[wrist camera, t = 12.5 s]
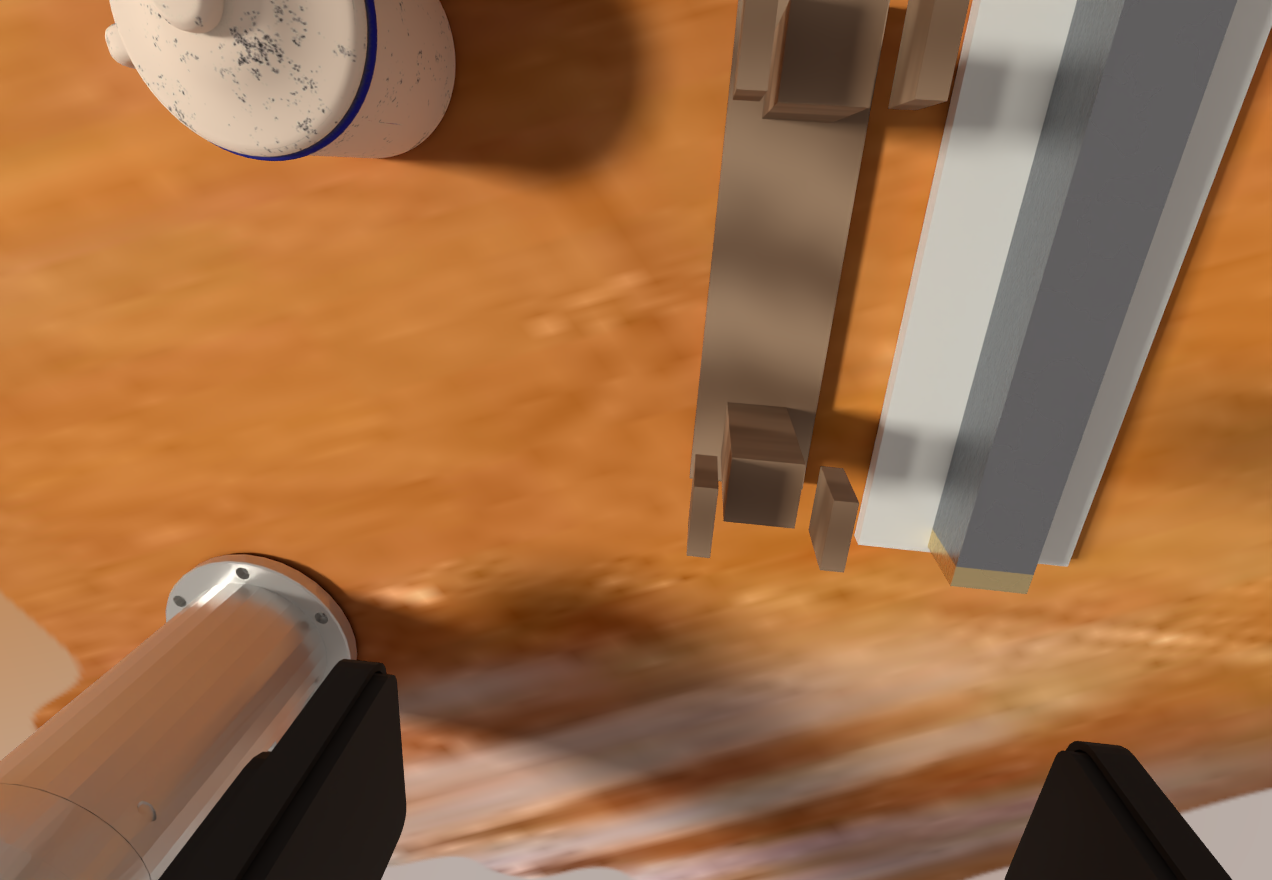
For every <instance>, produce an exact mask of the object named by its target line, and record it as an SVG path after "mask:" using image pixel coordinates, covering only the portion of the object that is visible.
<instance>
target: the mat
mask: <svg viewBox="0 0 1272 880" xmlns="http://www.w3.org/2000/svg"><path fill="white" fill-rule="evenodd" d="M1076 2H1077V0H973V2H972V6H971V11H970V15H969V20H968V24H967V29H966V33H965V38H964V43H963V47H962V52H961V56H960V61H959V65H958V70H957V74H956V79H955V83H954V88H953V92H952V97H951V101H950V106H949V110H948V115H947V119H946V124H945V128H944V133H943V137H942V142H941V146H940V151H939V156H938V160H937V165H936V169H935V174H934V178H933V183H932V187H931V192H930V196H929V201H928V205H927V210H926V214H925V219H924V223H923V228H922V232H921V237H920V241H919V246H918V250H917V255H916V260H915V264H914V269H913V273H912V278H911V282H910V287H909V291H908V296H907V300H906V305H905V309H904V314H903V318H902V323H901V327H900V332H899V336H898V341H897V345H896V350H895V354H894V359H893V363H892V368H891V373H890V377H889V382H888V386H887V391H886V395H885V400H884V404H883V409H882V413H881V418H880V422H879V427H878V431H877V436H876V440H875V445H874V449H873V454H872V458H871V463H870V467H869V472H868V476H867V481H866V486H865V490H864V495H863V499H862V504H861V508H860V513H859V517H858V522H857V526H856V531H855V538H856V540H857V543H858V545H866V546H876V547H885V548H895V549H904V550H914V551H924V552H930V550H929V548H928V543H929V539H930V536H931V532H932V528H933V525H934V521H935V517H936V514H937V510H938V506H939V503H940V499H941V495H942V492H943V488H944V485H945V481H946V477H947V474H948V470H949V466H950V463H951V459H952V455H953V452H954V448H955V444H956V441H957V437H958V433H959V430H960V426H961V422H962V419H963V415H964V411H965V408H966V404H967V401H968V397H969V393H970V390H971V386H972V382H973V379H974V375H975V371H976V368H977V364H978V360H979V357H980V353H981V349H982V346H983V342H984V338H985V335H986V331H987V327H988V324H989V320H990V317H991V313H992V309H993V306H994V302H995V298H996V295H997V291H998V287H999V284H1000V280H1001V276H1002V273H1003V269H1004V265H1005V262H1006V258H1007V254H1008V251H1009V247H1010V243H1011V240H1012V236H1013V232H1014V229H1015V225H1016V222H1017V218H1018V214H1019V211H1020V207H1021V203H1022V200H1023V196H1024V192H1025V189H1026V185H1027V181H1028V178H1029V174H1030V170H1031V167H1032V163H1033V159H1034V156H1035V152H1036V148H1037V145H1038V141H1039V138H1040V134H1041V130H1042V127H1043V123H1044V119H1045V116H1046V112H1047V108H1048V105H1049V101H1050V97H1051V94H1052V90H1053V86H1054V83H1055V79H1056V75H1057V72H1058V68H1059V64H1060V61H1061V57H1062V54H1063V50H1064V46H1065V43H1066V39H1067V35H1068V32H1069V28H1070V24H1071V21H1072V17H1073V13H1074V10H1075V6H1076ZM1271 27H1272V0H1237V3H1236V6H1235V8H1234V11H1233V14H1232V17H1231V20H1230V23H1229V25H1228V28H1227V31H1226V34H1225V37H1224V39H1223V42H1222V45H1221V48H1220V51H1219V54H1218V56H1217V59H1216V62H1215V65H1214V68H1213V70H1212V73H1211V76H1210V79H1209V82H1208V85H1207V87H1206V90H1205V93H1204V96H1203V99H1202V101H1201V104H1200V107H1199V110H1198V113H1197V116H1196V118H1195V121H1194V124H1193V127H1192V130H1191V132H1190V135H1189V138H1188V141H1187V144H1186V147H1185V149H1184V152H1183V155H1182V158H1181V161H1180V163H1179V166H1178V169H1177V172H1176V175H1175V178H1174V180H1173V183H1172V186H1171V189H1170V192H1169V194H1168V197H1167V200H1166V203H1165V206H1164V209H1163V211H1162V214H1161V217H1160V220H1159V223H1158V225H1157V228H1156V231H1155V234H1154V237H1153V240H1152V242H1151V245H1150V248H1149V251H1148V254H1147V256H1146V259H1145V262H1144V265H1143V268H1142V270H1141V273H1140V276H1139V279H1138V282H1137V285H1136V287H1135V290H1134V293H1133V296H1132V299H1131V301H1130V304H1129V307H1128V310H1127V313H1126V316H1125V318H1124V321H1123V324H1122V327H1121V330H1120V332H1119V335H1118V338H1117V341H1116V344H1115V347H1114V349H1113V352H1112V355H1111V358H1110V361H1109V363H1108V366H1107V369H1106V372H1105V375H1104V378H1103V380H1102V383H1101V386H1100V389H1099V392H1098V394H1097V397H1096V400H1095V403H1094V406H1093V409H1092V411H1091V414H1090V417H1089V420H1088V423H1087V425H1086V428H1085V431H1084V434H1083V437H1082V440H1081V442H1080V445H1079V448H1078V451H1077V454H1076V456H1075V459H1074V462H1073V465H1072V468H1071V471H1070V473H1069V476H1068V479H1067V482H1066V485H1065V487H1064V490H1063V493H1062V496H1061V499H1060V502H1059V504H1058V507H1057V510H1056V513H1055V516H1054V518H1053V521H1052V524H1051V527H1050V530H1049V533H1048V535H1047V538H1046V541H1045V544H1044V547H1043V549H1042V552H1041V555H1040V558H1039V561H1038V564H1048V565H1058V566H1067V567H1068V565H1069V562H1070V559H1071V557H1072V554H1073V551H1074V549H1075V546H1076V543H1077V541H1078V538H1079V535H1080V533H1081V530H1082V528H1083V525H1084V522H1085V520H1086V517H1087V514H1088V512H1089V509H1090V506H1091V504H1092V501H1093V498H1094V496H1095V493H1096V490H1097V488H1098V485H1099V482H1100V480H1101V477H1102V475H1103V472H1104V469H1105V467H1106V464H1107V461H1108V459H1109V456H1110V453H1111V451H1112V448H1113V445H1114V443H1115V440H1116V437H1117V435H1118V432H1119V429H1120V427H1121V424H1122V422H1123V419H1124V416H1125V414H1126V411H1127V408H1128V406H1129V403H1130V400H1131V398H1132V395H1133V392H1134V390H1135V387H1136V384H1137V382H1138V379H1139V376H1140V374H1141V371H1142V369H1143V366H1144V363H1145V361H1146V358H1147V355H1148V353H1149V350H1150V347H1151V345H1152V342H1153V339H1154V337H1155V334H1156V331H1157V329H1158V326H1159V323H1160V321H1161V318H1162V316H1163V313H1164V310H1165V308H1166V305H1167V302H1168V300H1169V297H1170V294H1171V292H1172V289H1173V286H1174V284H1175V281H1176V278H1177V276H1178V273H1179V271H1180V268H1181V265H1182V263H1183V260H1184V257H1185V255H1186V252H1187V249H1188V247H1189V244H1190V241H1191V239H1192V236H1193V233H1194V231H1195V228H1196V225H1197V223H1198V220H1199V218H1200V215H1201V212H1202V210H1203V207H1204V204H1205V202H1206V199H1207V196H1208V194H1209V191H1210V188H1211V186H1212V183H1213V180H1214V178H1215V175H1216V172H1217V170H1218V167H1219V165H1220V162H1221V159H1222V157H1223V154H1224V151H1225V149H1226V146H1227V143H1228V141H1229V138H1230V135H1231V133H1232V130H1233V127H1234V125H1235V122H1236V119H1237V117H1238V114H1239V112H1240V109H1241V106H1242V104H1243V101H1244V98H1245V96H1246V93H1247V90H1248V88H1249V85H1250V82H1251V80H1252V77H1253V74H1254V72H1255V69H1256V66H1257V64H1258V61H1259V59H1260V56H1261V53H1262V51H1263V48H1264V45H1265V43H1266V40H1267V37H1268V35H1269V32H1270V29H1271Z"/></svg>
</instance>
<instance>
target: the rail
mask: <svg viewBox="0 0 1272 880" xmlns="http://www.w3.org/2000/svg"><path fill="white" fill-rule="evenodd" d="M1236 3H1237V0H1077V2H1076V6H1075V10H1074V13H1073V17H1072V21H1071V24H1070V28H1069V32H1068V35H1067V39H1066V43H1065V46H1064V50H1063V54H1062V57H1061V61H1060V64H1059V68H1058V72H1057V75H1056V79H1055V83H1054V86H1053V90H1052V94H1051V97H1050V101H1049V105H1048V108H1047V112H1046V116H1045V119H1044V123H1043V127H1042V130H1041V134H1040V138H1039V141H1038V145H1037V148H1036V152H1035V156H1034V159H1033V163H1032V167H1031V170H1030V174H1029V178H1028V181H1027V185H1026V189H1025V192H1024V196H1023V200H1022V203H1021V207H1020V211H1019V214H1018V218H1017V222H1016V225H1015V229H1014V232H1013V236H1012V240H1011V243H1010V247H1009V251H1008V254H1007V258H1006V262H1005V265H1004V269H1003V273H1002V276H1001V280H1000V284H999V287H998V291H997V295H996V298H995V302H994V306H993V309H992V313H991V317H990V320H989V324H988V327H987V331H986V335H985V338H984V342H983V346H982V349H981V353H980V357H979V360H978V364H977V368H976V371H975V375H974V379H973V382H972V386H971V390H970V393H969V397H968V401H967V404H966V408H965V411H964V415H963V419H962V422H961V426H960V430H959V433H958V437H957V441H956V444H955V448H954V452H953V455H952V459H951V463H950V466H949V470H948V474H947V477H946V481H945V485H944V488H943V492H942V495H941V499H940V503H939V506H938V510H937V514H936V517H935V521H934V525H933V528H932V532H931V536H930V539H929V543H928V548H929V550H930V552H931V553H932V555H933V557H934V559H935V560H936V562H937V564H938V565H939V567H940V569H941V570H942V572H943V574H944V576H945V577H946V579H947V581H948V582H949V584H950V586H957V587H967V588H976V589H985V590H995V591H1004V592H1013V593H1022V594H1027V592H1028V589H1029V586H1030V583H1031V580H1032V578H1033V575H1034V572H1035V569H1036V566H1037V564H1038V561H1039V558H1040V555H1041V552H1042V549H1043V547H1044V544H1045V541H1046V538H1047V535H1048V533H1049V530H1050V527H1051V524H1052V521H1053V518H1054V516H1055V513H1056V510H1057V507H1058V504H1059V502H1060V499H1061V496H1062V493H1063V490H1064V487H1065V485H1066V482H1067V479H1068V476H1069V473H1070V471H1071V468H1072V465H1073V462H1074V459H1075V456H1076V454H1077V451H1078V448H1079V445H1080V442H1081V440H1082V437H1083V434H1084V431H1085V428H1086V425H1087V423H1088V420H1089V417H1090V414H1091V411H1092V409H1093V406H1094V403H1095V400H1096V397H1097V394H1098V392H1099V389H1100V386H1101V383H1102V380H1103V378H1104V375H1105V372H1106V369H1107V366H1108V363H1109V361H1110V358H1111V355H1112V352H1113V349H1114V347H1115V344H1116V341H1117V338H1118V335H1119V332H1120V330H1121V327H1122V324H1123V321H1124V318H1125V316H1126V313H1127V310H1128V307H1129V304H1130V301H1131V299H1132V296H1133V293H1134V290H1135V287H1136V285H1137V282H1138V279H1139V276H1140V273H1141V270H1142V268H1143V265H1144V262H1145V259H1146V256H1147V254H1148V251H1149V248H1150V245H1151V242H1152V240H1153V237H1154V234H1155V231H1156V228H1157V225H1158V223H1159V220H1160V217H1161V214H1162V211H1163V209H1164V206H1165V203H1166V200H1167V197H1168V194H1169V192H1170V189H1171V186H1172V183H1173V180H1174V178H1175V175H1176V172H1177V169H1178V166H1179V163H1180V161H1181V158H1182V155H1183V152H1184V149H1185V147H1186V144H1187V141H1188V138H1189V135H1190V132H1191V130H1192V127H1193V124H1194V121H1195V118H1196V116H1197V113H1198V110H1199V107H1200V104H1201V101H1202V99H1203V96H1204V93H1205V90H1206V87H1207V85H1208V82H1209V79H1210V76H1211V73H1212V70H1213V68H1214V65H1215V62H1216V59H1217V56H1218V54H1219V51H1220V48H1221V45H1222V42H1223V39H1224V37H1225V34H1226V31H1227V28H1228V25H1229V23H1230V20H1231V17H1232V14H1233V11H1234V8H1235V6H1236Z"/></svg>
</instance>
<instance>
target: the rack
mask: <svg viewBox="0 0 1272 880" xmlns="http://www.w3.org/2000/svg"><path fill="white" fill-rule="evenodd" d="M889 3H890V0H738V9H737V19H736V29H735V39H734V48H733V58H732V68H731V78H730V87H729V97H728V107H727V117H726V126H725V136H724V146H723V156H722V165H721V175H720V185H719V195H718V204H717V214H716V224H715V234H714V243H713V253H712V263H711V273H710V282H709V292H708V302H707V312H706V321H705V331H704V341H703V351H702V360H701V370H700V380H699V390H698V399H697V409H696V419H695V429H694V438H693V448H692V458H691V468H690V478H693V482H692V491H691V501H690V511H689V522H688V540H687V556H696V557H705V558H710V553H711V545H712V537H713V529H714V521H715V512H716V504H717V496H718V481H722V495H723V517H724V521H726V522H736V523H746V524H755V525H765V526H775V527H784V528H795V522H796V517H797V511H798V506H799V500H800V494H801V489H802V488H803V483H804V477H805V472H806V466H807V460H808V455H809V449H810V444H811V438H812V433H813V427H814V421H815V416H816V410H817V405H818V399H819V394H820V388H821V382H822V377H823V371H824V366H825V360H826V354H827V349H828V343H829V338H830V332H831V327H832V321H833V315H834V310H835V304H836V299H837V293H838V288H839V282H840V276H841V271H842V265H843V260H844V254H845V249H846V243H847V237H848V232H849V226H850V221H851V215H852V209H853V204H854V198H855V193H856V187H857V182H858V176H859V170H860V165H861V159H862V154H863V148H864V143H865V137H866V131H867V126H868V120H869V115H870V109H871V103H872V98H873V92H874V87H875V81H876V76H877V70H878V64H879V59H880V53H881V48H882V42H883V37H884V31H885V25H886V20H887V14H888V9H889ZM968 5H969V0H909V1H908V6H907V12H906V17H905V22H904V27H903V33H902V38H901V43H900V49H899V54H898V59H897V65H896V70H895V75H894V80H893V86H892V91H891V96H890V102H889V107H888V109H901V110H919V109H922V108H926V107H929V106H932V105H936V104H939V103H942V102H946V101H947V100H948V96H949V91H950V87H951V82H952V77H953V73H954V68H955V64H956V59H957V55H958V50H959V46H960V41H961V36H962V32H963V27H964V23H965V18H966V14H967V9H968ZM858 506H859V502H858V500H857V497H856V495H855V493H854V491H853V489H852V486H851V484H850V482H849V480H848V478H847V476H846V473H845V471H844V469H843V468H835V467H824V466H821V467H820V473H819V478H818V483H817V488H816V494H815V499H814V504H813V510H812V515H811V520H810V526H809V533H810V537H811V540H812V544H813V547H814V551H815V554H816V558H817V561H818V565H819V568H820V570H826V571H835V572H844V569H845V565H846V560H847V556H848V551H849V547H850V542H851V538H852V533H853V528H854V524H855V519H856V515H857V510H858Z"/></svg>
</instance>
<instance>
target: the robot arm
mask: <svg viewBox="0 0 1272 880" xmlns="http://www.w3.org/2000/svg"><path fill="white" fill-rule="evenodd" d="M356 659H357V649H356V641H355V637H354V634H353V631H352V628H351V626H350V623H349V622H348V620H347V618H346V616H345V615H344V613H343V611H342V609H341V608H340V607H339V606H338V604H337V603H336V602H335V601H334V600H333V598H332V597H331V596H330V595H329V594H328V593H327V592H326V591H325V590H324V589H323V588H321V587H320V586H319V585H318V584H317V583H316V582H314V581H313V580H311V579H310V578H308V577H307V576H305V575H304V574H303V573H301V572H299V571H297V570H295V569H293V568H291V567H289V566H287V565H285V564H283V563H280V562H277V561H274V560H271V559H268V558H265V557H259V556H253V555H246V554H236V555H224V556H219V557H214V558H211V559H209V560H207V561H205V562H202V563H200V564H198V565H197V566H196V567H194V568H193V569H192V570H190V571H189V572H188V573H186V574H185V575H184V576H183V577H182V578H181V579H180V580H179V581H178V582H177V583H176V584H175V585H174V587H173V589H172V591H171V592H170V594H169V597H168V602H167V607H166V623H165V624H164V625H163V626H162V627H161V628H159V629H158V630H157V631H156V632H155V633H153V634H152V635H151V636H150V637H149V638H147V639H146V640H145V641H144V642H143V643H141V644H140V645H139V646H138V647H137V648H135V649H134V650H133V651H132V652H131V653H129V654H128V655H127V656H126V657H125V658H123V659H122V660H121V661H120V662H118V663H117V664H116V665H115V666H114V667H112V668H111V669H110V670H109V671H108V672H106V673H105V674H104V675H103V676H102V677H100V678H99V679H98V680H97V681H96V682H94V683H93V684H92V685H91V686H90V687H88V688H87V689H86V690H85V691H84V692H82V693H81V694H80V695H79V696H78V697H76V698H75V699H74V700H73V701H72V702H70V703H69V704H68V705H67V706H66V707H64V708H63V709H62V710H61V711H60V712H58V713H57V714H56V715H55V716H53V717H52V718H51V719H50V720H49V721H47V722H46V723H45V724H44V725H43V726H41V727H40V728H39V729H38V730H37V731H35V732H34V733H33V734H32V735H31V736H29V737H28V738H27V739H26V740H25V741H23V742H22V743H21V744H20V745H19V746H17V747H16V748H15V749H14V750H13V751H11V752H10V753H9V754H8V755H7V756H5V757H4V758H3V759H2V760H1V761H0V880H381V878H382V876H383V874H384V871H385V869H386V867H387V865H388V862H389V860H390V858H391V856H392V853H393V851H394V849H395V847H396V844H397V842H398V840H399V838H400V835H401V832H402V829H403V826H404V822H405V817H406V795H405V782H404V769H403V756H402V743H401V729H400V716H399V703H398V690H397V680H396V677H395V676H394V675H388V674H387V673H386V668H385V666H384V664H383V663H377V662H368V661H360V660H356ZM1005 880H1232V879H1231V878H1230V876H1229V875H1228V874H1227V873H1226V871H1225V870H1224V869H1223V867H1222V866H1221V865H1220V864H1219V863H1218V861H1217V860H1216V859H1215V857H1214V856H1213V855H1212V854H1211V852H1210V851H1209V850H1208V849H1207V847H1206V846H1205V845H1204V843H1203V842H1202V841H1201V840H1200V838H1199V837H1198V836H1197V835H1196V833H1195V832H1194V831H1193V830H1192V828H1191V827H1190V826H1189V824H1188V823H1187V822H1186V821H1185V820H1184V818H1183V817H1182V816H1181V814H1180V813H1179V812H1178V811H1177V809H1176V808H1175V807H1174V806H1173V804H1172V803H1171V802H1170V800H1169V799H1168V798H1167V797H1166V795H1165V794H1164V793H1163V792H1162V790H1161V789H1160V788H1159V787H1158V785H1157V784H1156V783H1155V782H1154V780H1153V779H1152V778H1151V776H1150V775H1149V774H1148V773H1147V771H1146V770H1145V769H1144V768H1143V766H1142V765H1141V764H1140V763H1139V761H1138V760H1137V759H1136V758H1135V756H1134V755H1133V754H1132V753H1131V752H1130V751H1129V750H1128V749H1126V748H1124V747H1122V746H1118V745H1109V744H1100V743H1091V742H1082V741H1074V742H1073V743H1071V744H1070V745H1069V746H1068V748H1067V749H1066V751H1060V752H1059V753H1058V754H1057V755H1056V757H1055V759H1054V762H1053V764H1052V766H1051V769H1050V771H1049V774H1048V776H1047V778H1046V781H1045V783H1044V786H1043V788H1042V790H1041V793H1040V795H1039V798H1038V800H1037V802H1036V805H1035V807H1034V810H1033V812H1032V814H1031V817H1030V819H1029V822H1028V824H1027V826H1026V829H1025V831H1024V834H1023V836H1022V838H1021V841H1020V843H1019V845H1018V848H1017V850H1016V853H1015V855H1014V857H1013V860H1012V862H1011V865H1010V867H1009V869H1008V872H1007V874H1006V877H1005Z"/></svg>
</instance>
